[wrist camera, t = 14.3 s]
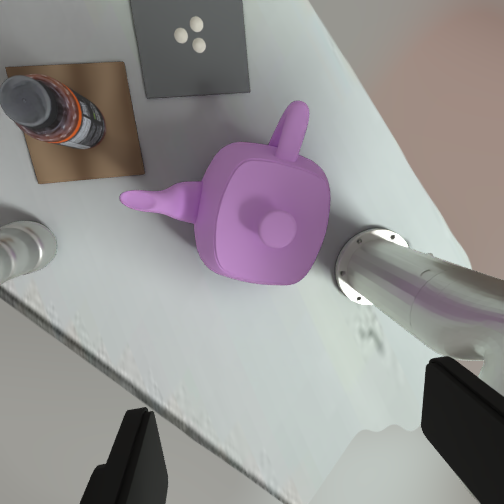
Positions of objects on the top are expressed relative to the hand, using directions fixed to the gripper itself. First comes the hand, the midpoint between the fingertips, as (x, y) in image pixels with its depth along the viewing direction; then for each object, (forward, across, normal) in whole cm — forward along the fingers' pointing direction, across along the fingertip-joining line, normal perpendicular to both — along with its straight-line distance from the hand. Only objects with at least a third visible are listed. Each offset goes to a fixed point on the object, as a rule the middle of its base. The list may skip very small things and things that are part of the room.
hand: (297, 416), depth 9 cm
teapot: (+33, -3, -3) cm, 34 cm away
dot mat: (+33, +2, -25) cm, 41 cm away
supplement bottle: (+32, +17, -16) cm, 40 cm away
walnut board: (+33, +17, -16) cm, 40 cm away
